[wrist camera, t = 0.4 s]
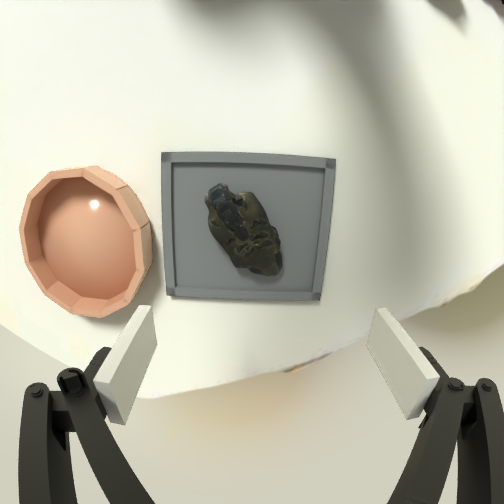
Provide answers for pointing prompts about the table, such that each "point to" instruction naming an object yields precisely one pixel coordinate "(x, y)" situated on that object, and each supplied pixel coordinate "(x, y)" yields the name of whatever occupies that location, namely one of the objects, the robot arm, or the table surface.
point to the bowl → (86, 240)
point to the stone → (243, 230)
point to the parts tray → (278, 212)
